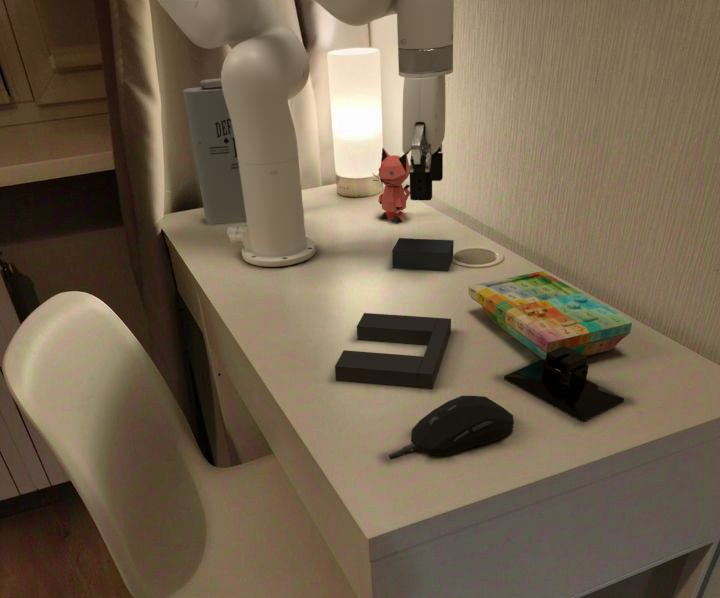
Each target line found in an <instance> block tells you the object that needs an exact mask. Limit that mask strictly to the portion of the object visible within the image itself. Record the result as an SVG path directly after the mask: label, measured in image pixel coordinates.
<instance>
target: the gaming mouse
mask: <svg viewBox="0 0 720 598" xmlns="http://www.w3.org/2000/svg"><path fill="white" fill-rule="evenodd" d="M514 423H515V420H514V414H512V413H511V412H509V411H508V410H507V409H506V408H505V407H503V406H502V405H500V404H498V403H497V402H495V401H493V400H492V399H490V398H488V397H487V396H483V395H482V396H481V395H459V396H457V397H455V398H452V399H450V400H448V401H446V402H444V403H443V404H441V405H440V406H438V407H436V408H434V409H433V410H431V411H430V412H429V413H428V414H426V415H425V416H423V417H422V418H421V419H420V420H419V421H418V422H417V423H416V424H415V425H414V427H413V428H412V429H411V433H410V434H411V435H410V442H411V443H410V444H407V445H406V446H403V448H401V449H399V450H397V451H394V452H392V453H390V454H388V456H389V458H390V459H392V458H394V457H397V456H400V455H402V454H403V453H404V454H405V453H406V454H407V453H409V452H411V451H414V450H415V449H418V451H420V452H423V453H426V454H429V455H431V456H448V455H451V454H454V453H459V452H462V451H465V450H468V449H471V448H474V447H477V446H482V445H486V444H488V443H492V442H495V441H497V440H500V439H501V438H503V437H504V436H505V435H507V434H509V433H510V432H511V431H512V429H513V427H514Z"/></svg>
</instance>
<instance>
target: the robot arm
mask: <svg viewBox="0 0 720 598" xmlns="http://www.w3.org/2000/svg"><path fill="white" fill-rule="evenodd" d="M156 1H157V2H158V3H159V4H160V6H161V7H162V8H163V9H164V11H165V12H166V13H167V14H168V15H169V17H170V18H171V19H172V20H173V21H174V23H175V24H176V25H177V27H178V28H179V29H180V30H181V32H183V34H184V35H185V36H186V37H187V39H188V40H190V41H191V43H193V44H194V45H195V46H197V47H199V48H202V49H207V50H212V49H218V48H220V47H224V46H226V45H228V47H229V48H230V50H229V52H228V53H227V55H226V56H225V59H224V61H223V63H222V67H221V72H222V73H221V72H220V78H221V83H220V84H221V86H222V90H223V94H224V98H225V102H226V105H227V108H228V111H229V115H230V119H231V123H232V127H233V132H234V138H235V144H236V151H237V158H238V163H239V170H240V177H241V184H242V191H243V199H244V206H245V213H246V220H247V221H246V224H247V225H245V226H244V227H240V226H228V227H227V230H226V234H227V237H228V241H229V242H230V243H242V244H243V245H244V246H243V247H242V249H241V256H242V259H243V260H244V261H245V262H247V263H248V264H250V265H254V266H257V267H265V268H266V267H268V268H276V267H286V266H292V265H297V264H300V263H302V262H303V263H304V262H306V261H308V260H310V259H311V258H313V256H314V255H315V254H316V252H317V243H316V242H315V241H314V240H313V239H312V238H310V237H308V236H306V225H305V224H306V223H305V213H304V201H303V194H302V193H303V192H302V182H301V171H300V161H299V151H298V140H297V133H296V128H295V123H294V120H293V116H292V113H291V110H290V109H291V108H290V106H289V101H290V100H291V99H293V98H294V97H296V96H297V95H299V94H300V93H301V92H302V91H303V89H304V88H305V87H306V85H307V83H308V80H309V78H310V72H311V71H310V70H311V66H310V65H311V64H310V60H309V55H308V52H307V49H306V48H305V46H304V43H303V42H302V41H301V39H300V37H299V36H298V35H297V33H296V32H295V31H294V30H293V28H292V27H291V25H290V24H289V23H288V22H287V20H285V18H284V16H283V15H282V14H281V13H280V11H279V10H278V9H277V8H276V6H274V4H273V3H272V1H271V0H156ZM454 1H455V0H314V2H316V3H317V4H318V5H319V6H320V7H322V8H323V9H324V10H325V11H326V12H327V13H328V14H330V15H331V16H333V18H335V19H336V20H337V21H339V22H341V23H343V24H345V25H348V26H353V27H361V26H364V25H368V24H370V23H371V22H374V21H376V20H379V19H382V18H385V17H388V16H393V15H396V27H397V28H396V29H397V31H396V32H397V51H398V52H397V58H398V59H397V60H398V76H399V77H402V78H404V79H403V90H402V136H401V137H402V143H401V144H402V145H401V146H402V147H401V148H402V149H401V150H402V153H403V155H404V154H405V155H407V156H408V155H409V154H410V161H409V162H410V163H409V165H410V174H409V185H410V187H409V192H410V195H409V199H410V200H411V201H431V200H432V199H433V182H440V181H441V182H442V181H443V178H444V159H443V157H444V153H443V142H444V140H445V135H446V107H447V106H446V103H447V102H446V99H447V98H446V95H447V94H446V85H447V83H446V76H447V75H449V74H453V72H454V12H455V11H454V5H455V4H454V3H455V2H454ZM410 152H411V153H410Z"/></svg>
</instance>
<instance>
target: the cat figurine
mask: <svg viewBox="0 0 720 598" xmlns="http://www.w3.org/2000/svg"><path fill="white" fill-rule="evenodd" d="M372 175H373V176H374V177H376V179H372V181H374V182H380V183H382V184H384V187H383V192H382V193H381V194H380V195H379V196H378V203H379V204H380V205H381V209H382V211H384V212H382V215H381V216H380V220H391V219H392V224H400V223H403V222H404V221H405V220H406V218H405V214H404V210H406V209H407V201H408V199H409V198H410V189H409V188H410V184H406V185H405V186H403V183H404V182H405V181H406V180H407V179H408V178H409V177H410V163H409V158H408V154H407V155H405V154H404V153H403V154H402V155H401V156H400V155H394V154H393V155H390V154H389V153H388V152H387V150H386V149H385V148H384V147H382V150H381V159H380V166H379V167H378V176H377V175H375V173H372Z"/></svg>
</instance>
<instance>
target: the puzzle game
mask: <svg viewBox="0 0 720 598" xmlns="http://www.w3.org/2000/svg"><path fill="white" fill-rule="evenodd" d="M468 295H469V297H470V298H471V299H472V300H473V301H475V302H476V303H477V304H479V305H480V306H481V307H482V309H483V312H484V313H485V315H486V317H488V319H489V320H490V321H491V322H492V323H494V324H495V325H496V326H498V327H499V328H500V329H502V330H503V331H504V332H506V333H507V334H509V335H510V336H511V337H512V338H514V339H515V340H516V341H518V342H519V343H521V344H522V345H524V346H525V347H526V348H527V349H529V350H530V351H531V352H533V353H534V354H535V355H536V356H538V357H539V358H540V359H543V360H544V359H546V354H547V353H548V352H551V351H553V350H555V349H557V348H560V347H562V346H566V347H568V348H570V349H572V350H574V351H576V352H578V353H580V354H582V355H585V356H587V357H588V356H592V355H595V354H600V353H604V352H607V351H611V350H613V349H614V348H615V347H616V346H617V345H618V344H619V343H620V342H622V340H623V339H625V338H626V337H627V336H628V335H630V334H631V331H632V326H633V323H632V322H631V321H630V320H629V318H628V317H626V316H625V315H622V314H620V313H619V312H617V311H615V310H613V309H612V308H610V307H608V306H606V305H604V304H603V303H601V302H599V301H597V300H595V299H594V298H592V297H590V296H588V295H586V294H585V293H582V292H581V291H579V290H578V289H575V288H574V287H572V286H570V285H568V284H566V283H564V282H563V281H561V280H559V279H557V278H556V277H554V276H552V275H550V274H548V273H546V272H545V271H543V270H539V271H536V272H531V273H526V274H521V275H516V276H512V277H511V276H510V277H507V278H502V279H497V280H492V281H487V282H481V283H477V284H472V285H469V286H468Z"/></svg>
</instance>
